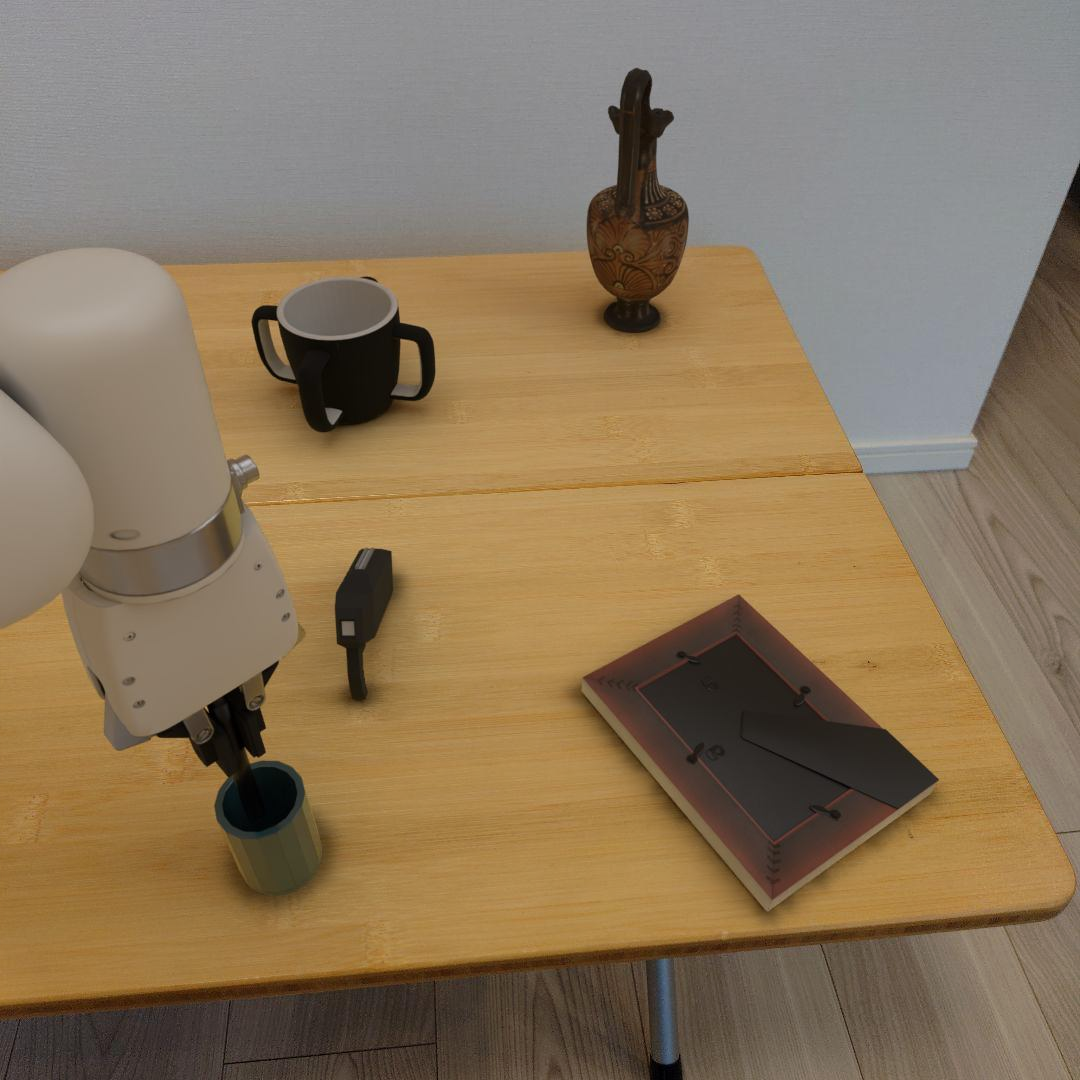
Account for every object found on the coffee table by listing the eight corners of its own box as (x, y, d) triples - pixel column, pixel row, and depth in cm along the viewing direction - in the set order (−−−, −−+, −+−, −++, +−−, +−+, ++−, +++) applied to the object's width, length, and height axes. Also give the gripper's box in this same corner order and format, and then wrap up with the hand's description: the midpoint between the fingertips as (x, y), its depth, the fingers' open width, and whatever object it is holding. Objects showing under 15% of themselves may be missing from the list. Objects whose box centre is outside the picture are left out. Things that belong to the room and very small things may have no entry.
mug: (448, 424, 101) (441, 327, 93) (301, 465, 96) (280, 366, 88) (395, 347, 112) (385, 253, 103) (260, 380, 107) (238, 284, 98)
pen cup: (269, 913, 63) (245, 856, 58) (225, 856, 66) (198, 796, 61) (338, 858, 66) (321, 799, 61) (293, 806, 69) (273, 745, 63)
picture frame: (929, 796, 70) (734, 611, 83) (939, 778, 69) (739, 592, 81) (765, 915, 64) (581, 694, 77) (772, 899, 62) (582, 675, 75)
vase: (689, 306, 119) (724, 50, 98) (654, 356, 111) (685, 89, 90) (603, 284, 123) (620, 33, 102) (563, 331, 115) (573, 69, 94)
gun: (398, 634, 88) (394, 530, 85) (370, 717, 72) (364, 594, 69) (367, 634, 88) (362, 530, 85) (333, 716, 72) (325, 594, 69)
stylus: (254, 828, 61) (210, 705, 52) (244, 816, 62) (199, 692, 52) (270, 817, 62) (229, 693, 52) (260, 805, 62) (218, 681, 53)
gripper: (257, 418, 49) (308, 646, 62) (-51, 561, 41) (79, 788, 54) (342, 488, 46) (377, 715, 58) (20, 660, 38) (142, 879, 50)
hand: (233, 749), depth 56 cm, fingers closed on stylus, 1 cm apart
